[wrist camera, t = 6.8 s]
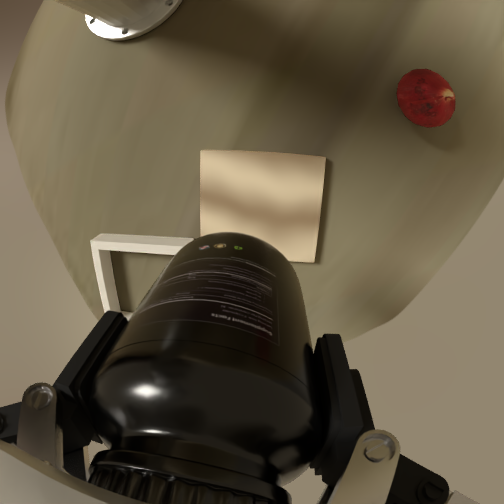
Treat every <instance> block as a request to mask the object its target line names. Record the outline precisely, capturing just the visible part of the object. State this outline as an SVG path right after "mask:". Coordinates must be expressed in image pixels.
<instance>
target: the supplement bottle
mask: <svg viewBox="0 0 504 504" xmlns="http://www.w3.org/2000/svg"><path fill="white" fill-rule="evenodd" d="M89 409H90V415H91V419H92V422H93V425H94V427H95V430H96V432H97V433H98V435H99V437H100V438H101V440H102V441H103V443H104V444H105V445H106V447H107V448H108V449H109V450H103V451H100V452H98V453H97V454H96V455H95V456H94V458H93V460H92V462H91V464H90V466H89V469H88V472H89V475H90V477H89V479H88V482H87V483H90V484H92V485H95V486H97V487H100V488H102V489H105V490H108V491H111V492H113V493H116V494H119V495H122V496H125V497H128V498H132V499H135V500H138V501H142V502H145V503H149V504H292V498H291V495H290V494H289V493H288V492H287V491H286V490H285V489H283V488H282V486H284V485H286V484H288V483H290V482H291V481H293V480H295V479H296V478H297V477H299V476H300V475H301V474H302V473H303V472H304V471H305V470H307V468H308V467H309V466H310V465H311V463H312V462H313V461H314V459H315V457H316V456H317V454H318V452H319V450H320V447H321V444H322V441H323V435H324V424H323V413H322V405H321V399H320V392H319V385H318V379H317V373H316V367H315V361H314V355H313V349H312V343H311V338H310V332H309V327H308V321H307V316H306V310H305V305H304V300H303V295H302V291H301V286H300V283H299V279H298V277H297V275H296V272H295V270H294V268H293V267H292V265H291V264H290V262H289V261H288V260H287V258H286V257H285V256H284V255H283V254H282V253H281V252H280V251H279V250H277V249H276V248H275V247H273V246H272V245H271V244H269V243H267V242H266V241H264V240H261V239H259V238H257V237H254V236H251V235H248V234H244V233H238V232H218V233H212V234H208V235H205V236H202V237H199V238H197V239H195V240H193V241H191V242H189V243H188V244H186V245H185V246H184V247H183V248H181V249H180V250H179V251H178V252H177V253H176V254H175V256H174V257H173V258H172V259H171V260H170V262H169V263H168V264H167V266H166V267H165V268H164V270H163V271H162V273H161V274H160V275H159V277H158V278H157V280H156V281H155V282H154V284H153V285H152V287H151V288H150V290H149V291H148V292H147V294H146V295H145V297H144V298H143V300H142V301H141V303H140V304H139V306H138V307H137V308H136V310H135V311H134V313H133V314H132V316H131V317H130V319H129V320H128V322H127V323H126V325H125V326H124V328H123V329H122V331H121V333H120V334H119V336H118V337H117V339H116V340H115V342H114V343H113V345H112V346H111V348H110V350H109V351H108V353H107V354H106V356H105V358H104V359H103V361H102V363H101V364H100V367H99V368H98V370H97V372H96V374H95V376H94V378H93V380H92V382H91V386H90V390H89Z"/></svg>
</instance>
